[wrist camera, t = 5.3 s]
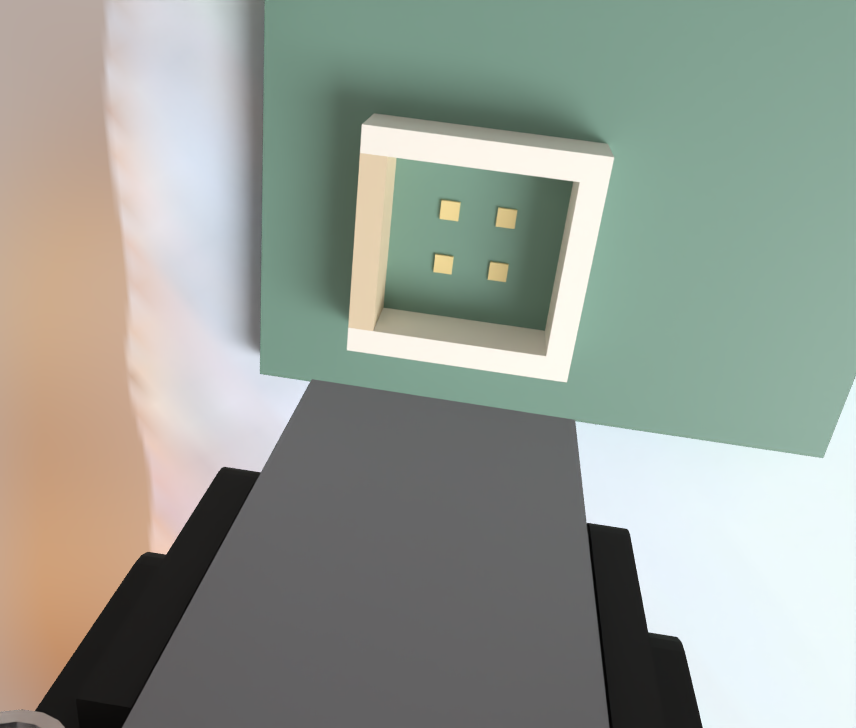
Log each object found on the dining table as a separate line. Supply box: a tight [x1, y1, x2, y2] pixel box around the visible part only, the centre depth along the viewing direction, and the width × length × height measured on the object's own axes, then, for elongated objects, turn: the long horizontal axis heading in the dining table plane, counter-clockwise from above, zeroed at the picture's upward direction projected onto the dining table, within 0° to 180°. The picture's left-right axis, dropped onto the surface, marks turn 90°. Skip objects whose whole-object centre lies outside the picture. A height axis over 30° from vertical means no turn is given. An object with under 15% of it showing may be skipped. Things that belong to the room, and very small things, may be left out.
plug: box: [122, 379, 609, 728], centre depth 9 cm, size 4×4×8 cm
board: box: [260, 0, 856, 458], centre depth 24 cm, size 16×20×3 cm
